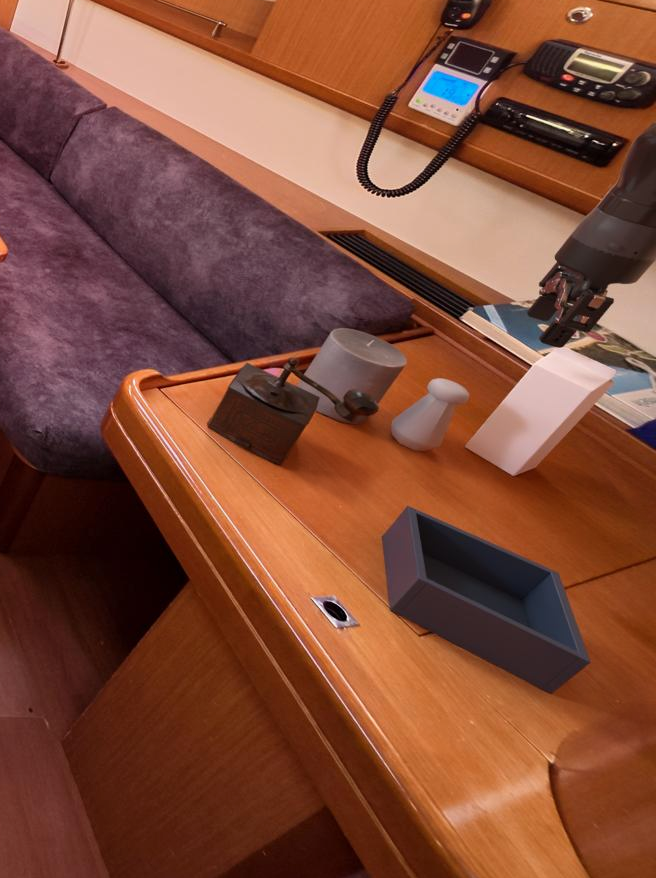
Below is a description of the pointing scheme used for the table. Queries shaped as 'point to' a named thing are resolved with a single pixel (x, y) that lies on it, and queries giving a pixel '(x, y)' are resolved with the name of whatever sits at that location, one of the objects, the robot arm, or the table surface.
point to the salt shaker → (429, 416)
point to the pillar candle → (353, 368)
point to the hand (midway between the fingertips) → (542, 330)
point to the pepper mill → (277, 410)
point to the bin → (483, 599)
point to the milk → (541, 410)
